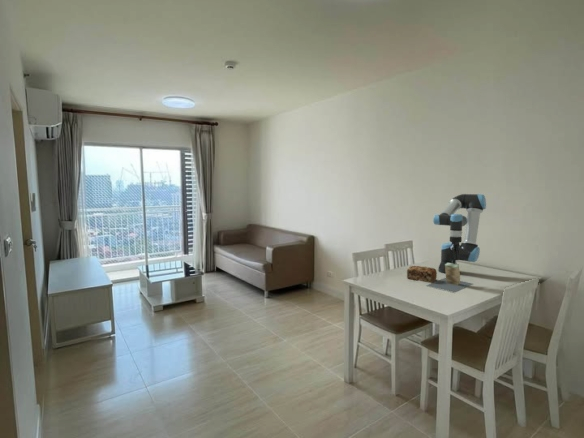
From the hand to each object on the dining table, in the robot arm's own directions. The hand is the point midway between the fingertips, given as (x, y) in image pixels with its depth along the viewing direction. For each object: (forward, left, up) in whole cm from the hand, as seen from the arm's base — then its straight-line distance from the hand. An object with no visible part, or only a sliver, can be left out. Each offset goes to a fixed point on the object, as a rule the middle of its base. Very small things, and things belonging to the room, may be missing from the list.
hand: (454, 269), depth 238 cm
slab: (0, 0, -10) cm, 10 cm away
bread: (-21, -7, -11) cm, 24 cm away
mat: (0, -5, -11) cm, 12 cm away
